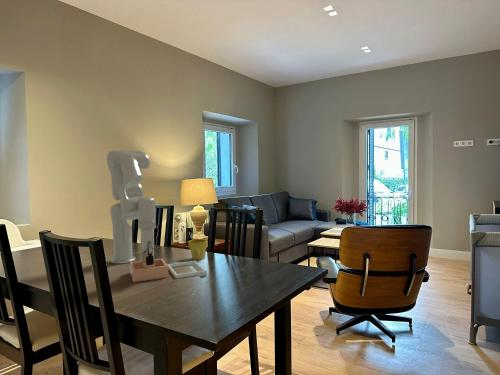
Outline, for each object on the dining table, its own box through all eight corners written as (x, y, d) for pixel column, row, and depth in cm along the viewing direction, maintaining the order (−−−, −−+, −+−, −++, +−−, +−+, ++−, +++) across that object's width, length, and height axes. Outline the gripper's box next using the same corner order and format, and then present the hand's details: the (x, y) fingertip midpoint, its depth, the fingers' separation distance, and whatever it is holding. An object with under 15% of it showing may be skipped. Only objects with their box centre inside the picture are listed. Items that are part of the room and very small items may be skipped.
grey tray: (167, 269, 170) (167, 264, 170) (195, 265, 176) (195, 260, 175) (175, 280, 152) (175, 275, 151) (206, 276, 157) (206, 270, 157)
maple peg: (142, 274, 159) (141, 248, 158) (153, 272, 161) (152, 247, 160) (143, 277, 154) (142, 250, 154) (155, 275, 156) (154, 249, 156)
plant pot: (185, 259, 188) (184, 241, 188) (196, 255, 198) (196, 238, 197) (200, 261, 184) (200, 243, 183) (211, 257, 193) (211, 239, 192)
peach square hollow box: (130, 275, 161) (129, 262, 161) (162, 270, 167) (162, 258, 167) (133, 284, 148) (132, 270, 147) (168, 279, 154) (168, 265, 153)
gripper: (136, 223, 163) (137, 259, 164) (140, 228, 147) (142, 268, 148) (152, 222, 166) (154, 257, 167) (158, 226, 150) (160, 265, 151)
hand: (148, 262), depth 157 cm, fingers open, 9 cm apart
